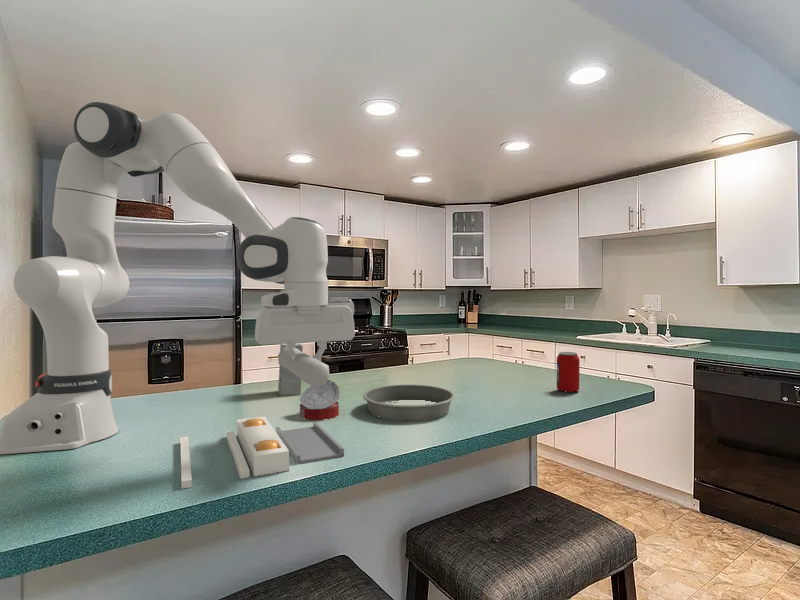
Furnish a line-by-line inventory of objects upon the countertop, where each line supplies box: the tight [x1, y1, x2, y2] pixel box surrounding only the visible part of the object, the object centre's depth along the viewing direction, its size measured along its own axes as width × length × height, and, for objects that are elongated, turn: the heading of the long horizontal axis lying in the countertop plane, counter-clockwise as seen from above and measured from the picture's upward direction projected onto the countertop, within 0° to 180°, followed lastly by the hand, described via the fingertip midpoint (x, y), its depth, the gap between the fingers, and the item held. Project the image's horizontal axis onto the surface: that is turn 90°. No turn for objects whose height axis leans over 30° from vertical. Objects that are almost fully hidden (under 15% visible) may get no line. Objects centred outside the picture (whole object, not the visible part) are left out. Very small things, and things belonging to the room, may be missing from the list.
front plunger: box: [257, 440, 277, 451], centre depth 85 cm, size 4×4×4 cm
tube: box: [277, 347, 330, 387], centre depth 96 cm, size 5×5×25 cm
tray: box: [275, 421, 345, 465], centre depth 96 cm, size 9×20×2 cm, turn 26°
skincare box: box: [277, 343, 304, 397], centre depth 145 cm, size 8×7×16 cm
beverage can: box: [556, 351, 581, 393], centre depth 146 cm, size 7×7×12 cm
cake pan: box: [362, 384, 456, 421], centre depth 124 cm, size 25×25×4 cm
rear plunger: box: [245, 417, 263, 427], centre depth 100 cm, size 4×4×4 cm
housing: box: [179, 416, 290, 489], centre depth 90 cm, size 17×25×4 cm
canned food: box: [299, 379, 341, 421], centre depth 119 cm, size 11×10×10 cm
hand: (306, 364), depth 96 cm, fingers closed on tube, 3 cm apart
